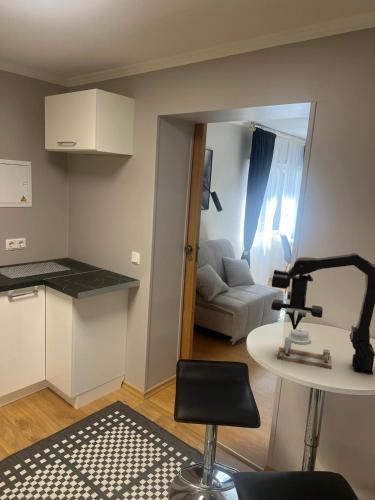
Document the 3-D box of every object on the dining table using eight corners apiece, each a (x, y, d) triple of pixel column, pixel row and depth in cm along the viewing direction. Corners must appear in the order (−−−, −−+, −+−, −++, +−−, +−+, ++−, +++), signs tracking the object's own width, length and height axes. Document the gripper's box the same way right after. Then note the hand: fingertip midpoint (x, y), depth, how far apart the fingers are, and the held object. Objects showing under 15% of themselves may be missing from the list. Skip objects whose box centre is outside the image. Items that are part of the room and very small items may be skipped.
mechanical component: (313, 346, 159) (308, 336, 168) (314, 336, 158) (308, 327, 168) (289, 344, 159) (285, 335, 169) (290, 334, 159) (286, 325, 168)
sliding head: (290, 349, 150) (291, 337, 149) (289, 355, 144) (290, 343, 143) (284, 348, 150) (285, 336, 150) (283, 354, 145) (284, 342, 144)
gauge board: (331, 358, 146) (332, 348, 146) (331, 369, 138) (332, 358, 137) (279, 349, 153) (280, 339, 152) (276, 358, 145) (277, 348, 144)
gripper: (324, 289, 146) (320, 326, 149) (276, 282, 153) (273, 318, 156) (324, 296, 136) (319, 336, 139) (273, 288, 142) (269, 327, 145)
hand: (294, 329), depth 145 cm, fingers closed
